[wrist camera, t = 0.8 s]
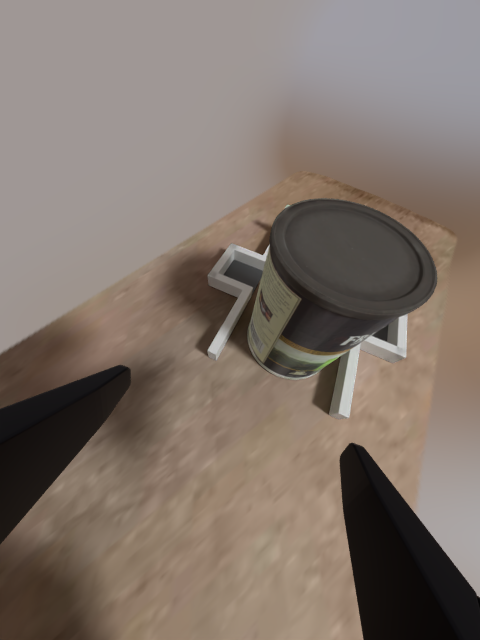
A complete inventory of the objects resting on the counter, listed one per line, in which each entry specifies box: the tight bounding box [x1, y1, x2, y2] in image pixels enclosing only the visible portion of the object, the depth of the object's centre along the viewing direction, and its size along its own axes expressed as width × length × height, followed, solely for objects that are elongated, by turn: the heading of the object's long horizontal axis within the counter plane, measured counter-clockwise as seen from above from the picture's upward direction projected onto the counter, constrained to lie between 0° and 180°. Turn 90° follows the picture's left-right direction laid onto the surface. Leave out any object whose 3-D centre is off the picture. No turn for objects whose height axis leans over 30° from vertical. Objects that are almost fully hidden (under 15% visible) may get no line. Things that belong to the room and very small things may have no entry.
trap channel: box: [207, 205, 407, 419], centre depth 25 cm, size 24×25×5 cm
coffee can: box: [247, 198, 437, 380], centre depth 19 cm, size 10×10×14 cm
